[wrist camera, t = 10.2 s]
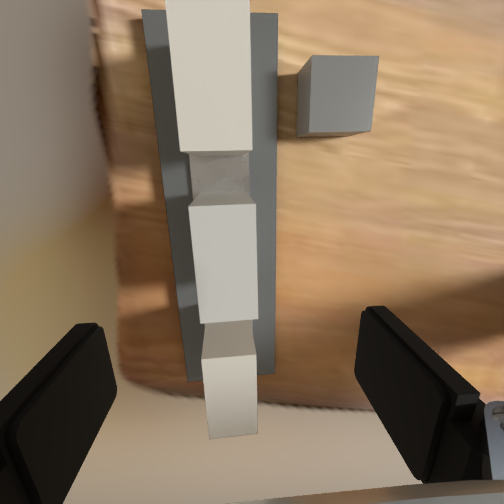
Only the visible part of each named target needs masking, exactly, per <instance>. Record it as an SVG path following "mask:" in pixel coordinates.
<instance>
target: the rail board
mask: <svg viewBox="0 0 504 504" xmlns="http://www.w3.org/2000/svg"><path fill="white" fill-rule="evenodd" d="M141 11H142V19H143V27H144V35H145V43H146V51H147V59H148V67H149V75H150V83H151V91H152V99H153V107H154V115H155V123H156V131H157V139H158V147H159V155H160V163H161V171H162V179H163V187H164V195H165V203H166V211H167V219H168V227H169V235H170V243H171V251H172V259H173V267H174V275H175V283H176V291H177V299H178V307H179V315H180V323H181V331H182V339H183V347H184V355H185V363H186V371H187V379H188V382H191V381H202V380H203V372H202V362H201V357H202V348H203V340H204V331H205V324H204V323H203V324H200V315H199V306H198V296H197V286H196V277H195V267H194V257H193V248H192V238H191V228H190V219H189V209H188V206H189V205H190V204H191V203H192V202H193V192H192V181H191V170H190V159H189V154H187V153H184V152H181V151H180V144H179V134H178V124H177V114H176V105H175V95H174V85H173V75H172V65H171V55H170V45H169V35H168V25H167V15H166V10H146V9H141ZM250 41H251V95H252V148H253V150H252V151H250V152H249V188H250V197H251V198H252V200H253V201H254V202H255V203H256V233H257V280H258V319H253V338H254V344H255V349H256V361H257V375H266V374H275V296H276V181H277V67H278V13H250Z"/></svg>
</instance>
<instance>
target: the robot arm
mask: <svg viewBox="0 0 504 504" xmlns="http://www.w3.org/2000/svg"><path fill="white" fill-rule="evenodd" d="M354 371H355V376H356V379H357V381H358V383H359V384H360V386H361V388H362V389H363V391H364V393H365V395H366V396H367V398H368V400H369V401H370V403H371V405H372V406H373V408H374V410H375V412H376V413H377V415H378V417H379V418H380V420H381V422H382V423H383V425H384V427H385V429H386V430H387V432H388V434H389V435H390V437H391V439H392V440H393V442H394V444H395V446H396V447H397V449H398V451H399V452H400V454H401V456H402V457H403V459H404V461H405V463H406V464H407V466H408V468H409V469H410V471H411V473H412V474H413V476H414V477H415V478H416V479H417V480H421V481H422V483H423V484H415V485H403V486H393V487H383V488H373V489H363V490H353V491H343V492H333V493H323V494H312V495H303V496H294V497H283V498H274V499H264V500H255V501H246V502H236V503H227V504H504V401H492V402H489V403H488V404H485V403H484V402H483V401H481V400H480V399H479V396H480V392H479V391H477V390H476V389H475V388H474V387H473V386H472V385H471V384H470V383H469V382H468V381H466V380H465V379H464V378H463V377H462V376H461V375H460V374H459V373H458V372H457V371H455V370H454V369H453V368H452V367H451V366H450V365H449V364H448V363H447V362H446V361H445V360H443V359H442V358H441V357H440V356H439V355H438V354H437V353H436V352H435V351H434V350H432V349H431V348H430V347H429V346H428V345H427V344H426V343H425V342H424V341H423V340H421V339H420V338H419V337H418V336H417V335H416V334H415V333H414V332H413V331H412V330H410V329H409V328H408V327H407V326H406V325H405V324H404V323H403V322H402V321H401V320H400V319H398V318H397V317H396V316H395V315H394V314H393V313H392V312H391V311H390V310H389V309H387V308H386V307H385V306H369V307H367V308H366V310H365V311H362V313H361V320H360V328H359V336H358V344H357V352H356V360H355V368H354ZM116 394H117V385H116V381H115V377H114V372H113V368H112V364H111V360H110V355H109V351H108V347H107V342H106V338H105V334H104V330H103V328H102V327H99V326H98V325H97V323H81V324H76V325H75V326H74V327H73V328H72V329H71V330H70V331H69V332H68V333H67V334H66V335H65V336H64V337H63V338H62V339H61V340H60V341H59V342H58V343H57V344H56V345H55V346H54V347H53V348H52V349H51V350H50V351H49V352H48V353H47V354H46V355H45V356H44V357H43V358H42V359H41V360H40V361H39V362H38V363H37V364H36V366H34V367H33V369H32V370H31V371H30V372H29V373H28V374H27V375H26V376H25V377H24V378H23V379H22V380H21V381H20V382H19V383H18V384H17V385H16V386H15V387H14V388H13V389H12V390H11V391H10V392H9V393H8V394H7V395H6V396H5V397H4V398H3V399H2V400H1V401H0V504H63V502H64V500H65V498H66V496H67V494H68V492H69V490H70V488H71V486H72V484H73V482H74V480H75V478H76V476H77V474H78V472H79V470H80V468H81V466H82V464H83V462H84V460H85V458H86V456H87V454H88V452H89V450H90V448H91V446H92V444H93V442H94V440H95V438H96V436H97V434H98V432H99V430H100V428H101V426H102V424H103V422H104V420H105V418H106V415H107V414H108V412H109V410H110V408H111V406H112V404H113V402H114V400H115V397H116Z"/></svg>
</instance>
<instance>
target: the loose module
mask: <svg viewBox="0 0 504 504" xmlns="http://www.w3.org/2000/svg"><path fill="white" fill-rule="evenodd" d="M188 209H189V219H190V228H191V238H192V248H193V257H194V267H195V277H196V286H197V296H198V306H199V315H200V324H203V323H215V322H228V321H240V320H253V319H258V280H257V233H256V203H255V202H254V201H253V200H252V198H251V197H250V196H249V195H248V193H247V192H246V191H234V192H207V193H199V195H198V196H197V197H196V198H195V199H194V200H193V202H192V203H191V204H190V205H189V206H188Z"/></svg>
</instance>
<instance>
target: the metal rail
mask: <svg viewBox="0 0 504 504" xmlns="http://www.w3.org/2000/svg"><path fill="white" fill-rule="evenodd" d="M189 159H190V170H191V181H192V192H193V200H194V199H195V198H196V197H197V196H198V195H199V193H207V192H234V191H246V192H247V193H248V195H249V196H250V188H249V152H248V153H246V154H244V155H221V156H194V155H190V154H189ZM204 324H205V323H204ZM251 326H252V332H253V320H251Z"/></svg>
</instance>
